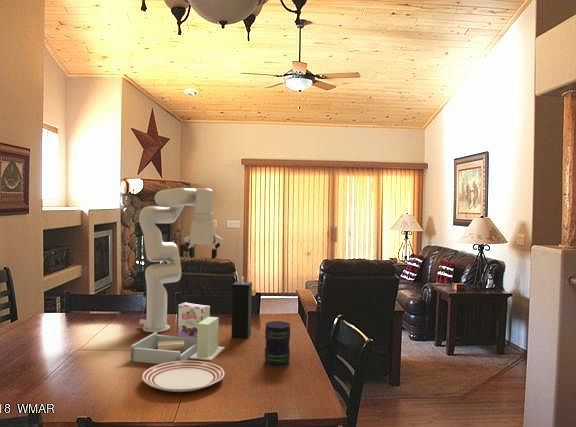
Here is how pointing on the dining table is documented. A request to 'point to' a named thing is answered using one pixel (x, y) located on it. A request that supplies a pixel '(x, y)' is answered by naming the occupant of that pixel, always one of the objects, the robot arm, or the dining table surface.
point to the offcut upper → (171, 345)
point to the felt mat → (208, 356)
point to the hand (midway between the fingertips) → (202, 258)
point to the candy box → (191, 318)
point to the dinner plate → (183, 375)
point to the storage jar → (277, 344)
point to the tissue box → (241, 309)
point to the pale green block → (207, 336)
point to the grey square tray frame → (148, 354)
